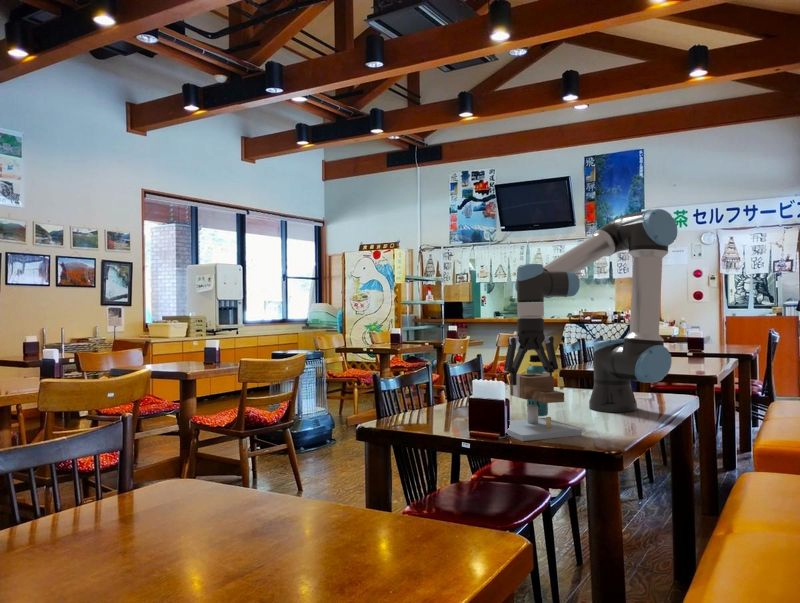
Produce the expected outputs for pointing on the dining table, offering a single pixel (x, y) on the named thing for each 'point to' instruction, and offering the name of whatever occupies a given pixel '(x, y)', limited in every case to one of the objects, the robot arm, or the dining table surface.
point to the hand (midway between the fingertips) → (531, 395)
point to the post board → (539, 427)
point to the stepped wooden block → (538, 388)
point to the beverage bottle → (538, 369)
